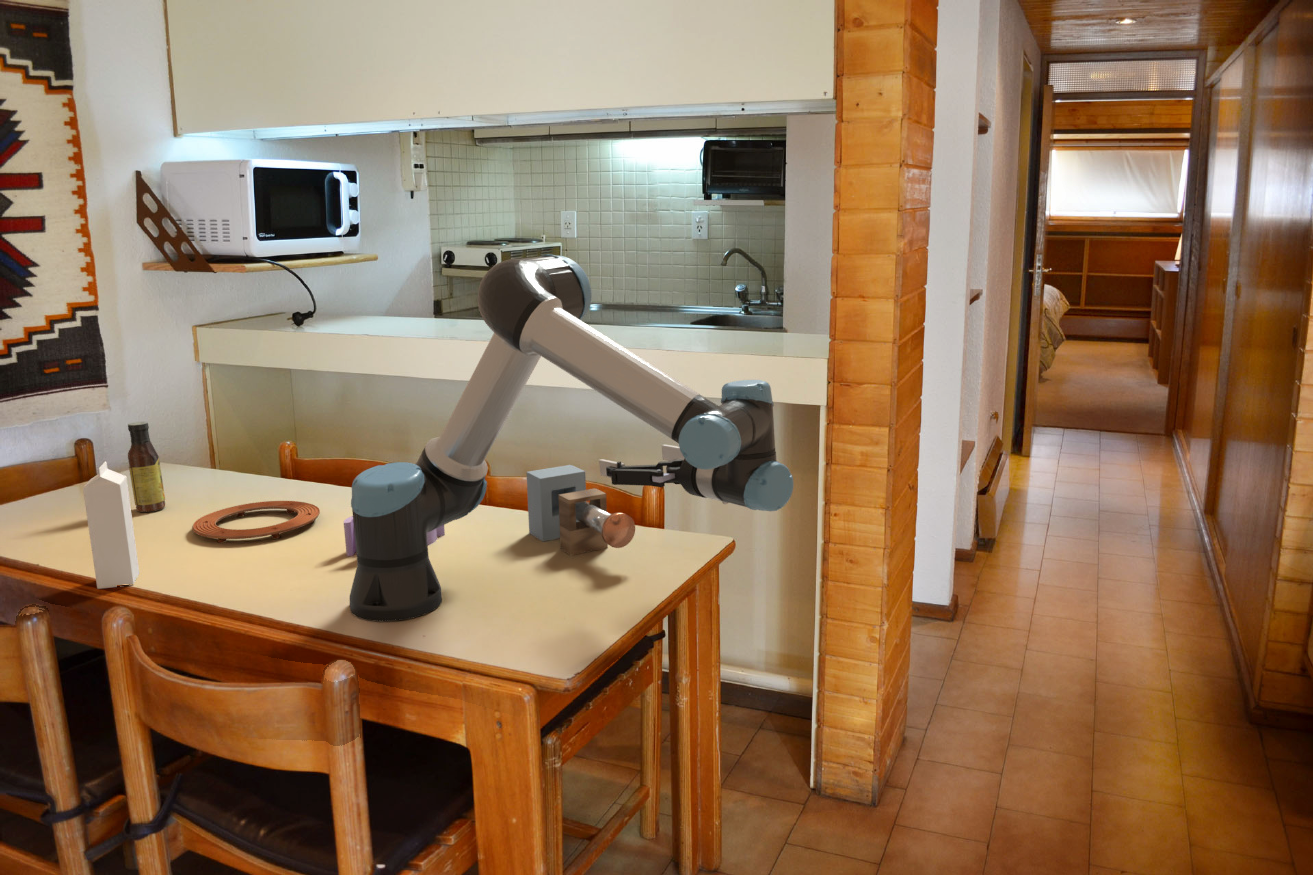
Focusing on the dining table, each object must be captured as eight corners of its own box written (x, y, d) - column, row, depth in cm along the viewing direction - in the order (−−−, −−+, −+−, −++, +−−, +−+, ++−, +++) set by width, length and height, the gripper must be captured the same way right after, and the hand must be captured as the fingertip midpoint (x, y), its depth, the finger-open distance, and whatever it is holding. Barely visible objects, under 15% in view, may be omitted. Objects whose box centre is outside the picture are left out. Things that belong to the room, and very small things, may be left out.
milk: (97, 589, 186) (78, 470, 180) (104, 577, 191) (86, 462, 186) (134, 585, 187) (117, 467, 182) (140, 573, 193) (124, 459, 188)
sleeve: (571, 555, 199) (569, 500, 197) (560, 548, 203) (558, 494, 200) (607, 547, 203) (606, 493, 201) (596, 541, 207) (595, 488, 204)
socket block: (542, 541, 207) (540, 478, 204) (529, 533, 213) (526, 471, 210) (587, 532, 212) (585, 471, 209) (572, 524, 218) (570, 464, 215)
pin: (605, 550, 188) (604, 517, 187) (561, 526, 203) (560, 494, 201) (635, 544, 191) (634, 511, 190) (590, 520, 206) (589, 489, 205)
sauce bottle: (172, 507, 235) (161, 422, 230) (146, 515, 230) (134, 427, 225) (154, 503, 238) (144, 419, 234) (128, 510, 233) (117, 424, 229)
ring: (166, 542, 212) (164, 531, 211) (242, 507, 236) (241, 497, 235) (276, 550, 206) (274, 538, 205) (343, 513, 230) (342, 503, 229)
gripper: (651, 515, 159) (576, 495, 176) (770, 481, 174) (689, 466, 190) (647, 468, 158) (571, 452, 174) (767, 437, 172) (686, 426, 189)
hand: (633, 459), depth 182 cm, fingers open, 13 cm apart
